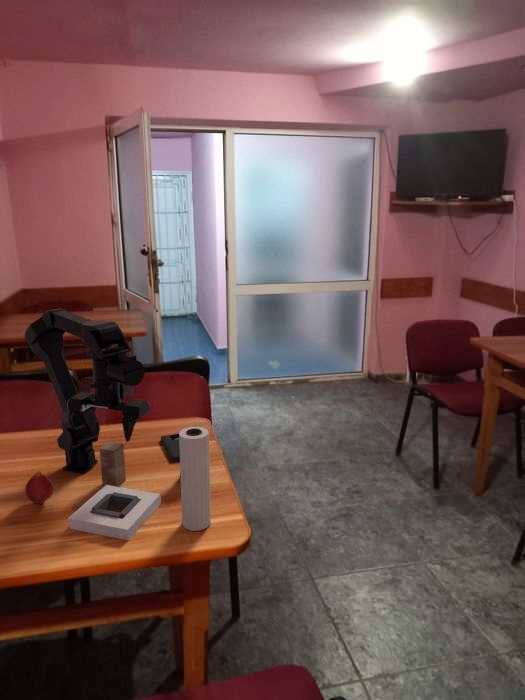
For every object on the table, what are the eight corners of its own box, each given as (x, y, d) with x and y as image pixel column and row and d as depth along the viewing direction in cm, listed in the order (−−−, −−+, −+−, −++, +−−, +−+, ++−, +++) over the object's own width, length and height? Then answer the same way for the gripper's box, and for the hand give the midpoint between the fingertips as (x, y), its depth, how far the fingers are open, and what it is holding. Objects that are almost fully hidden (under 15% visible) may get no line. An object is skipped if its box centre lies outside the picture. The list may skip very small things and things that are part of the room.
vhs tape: (201, 459, 140) (201, 452, 140) (172, 464, 137) (172, 457, 137) (187, 438, 153) (187, 431, 152) (160, 442, 150) (160, 436, 149)
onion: (28, 513, 114) (24, 480, 112) (26, 500, 119) (22, 469, 117) (56, 506, 117) (52, 474, 115) (53, 494, 122) (49, 463, 120)
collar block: (69, 528, 109) (68, 515, 108) (106, 494, 122) (105, 482, 121) (128, 540, 105) (127, 527, 104) (160, 503, 118) (160, 492, 117)
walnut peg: (102, 486, 125) (99, 448, 123) (111, 478, 129) (108, 441, 126) (117, 488, 124) (114, 450, 122) (125, 480, 128) (123, 443, 125)
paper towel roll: (198, 535, 107) (196, 440, 101) (176, 525, 110) (172, 433, 104) (219, 518, 113) (218, 427, 107) (197, 509, 116) (195, 421, 110)
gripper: (159, 370, 124) (161, 430, 129) (91, 363, 129) (96, 421, 134) (135, 385, 114) (139, 449, 118) (63, 376, 119) (69, 438, 123)
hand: (110, 438), depth 124 cm, fingers open, 9 cm apart
